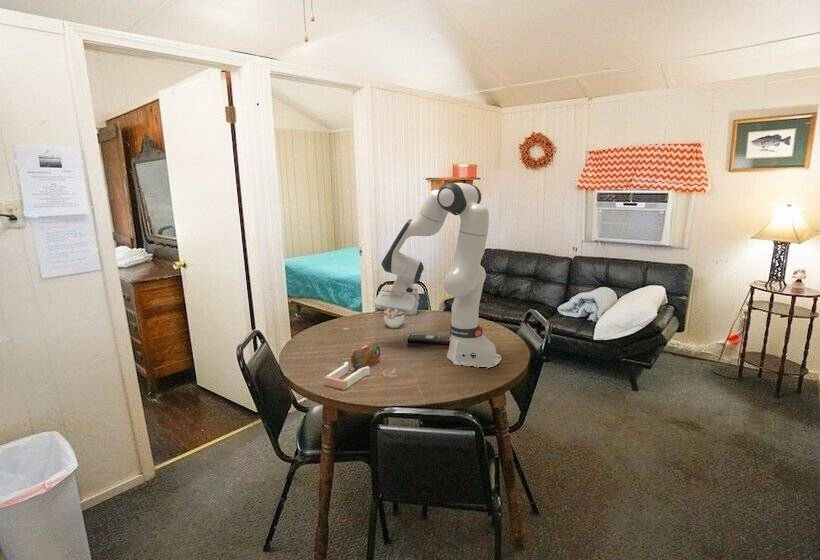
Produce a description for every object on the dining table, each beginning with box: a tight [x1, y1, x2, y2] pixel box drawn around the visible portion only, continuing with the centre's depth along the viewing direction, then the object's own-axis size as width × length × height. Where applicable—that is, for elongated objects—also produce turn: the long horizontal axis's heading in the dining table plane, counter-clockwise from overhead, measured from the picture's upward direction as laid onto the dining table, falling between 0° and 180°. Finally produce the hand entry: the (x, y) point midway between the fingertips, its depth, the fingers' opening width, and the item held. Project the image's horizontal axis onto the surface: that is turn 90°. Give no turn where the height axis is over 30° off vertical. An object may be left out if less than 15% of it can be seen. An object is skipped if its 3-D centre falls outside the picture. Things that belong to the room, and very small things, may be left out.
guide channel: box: [323, 361, 371, 391], centre depth 164 cm, size 12×16×3 cm
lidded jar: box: [383, 309, 405, 329], centre depth 223 cm, size 11×11×9 cm
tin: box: [350, 343, 381, 371], centre depth 175 cm, size 15×3×8 cm, turn 143°
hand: (390, 318), depth 190 cm, fingers closed
